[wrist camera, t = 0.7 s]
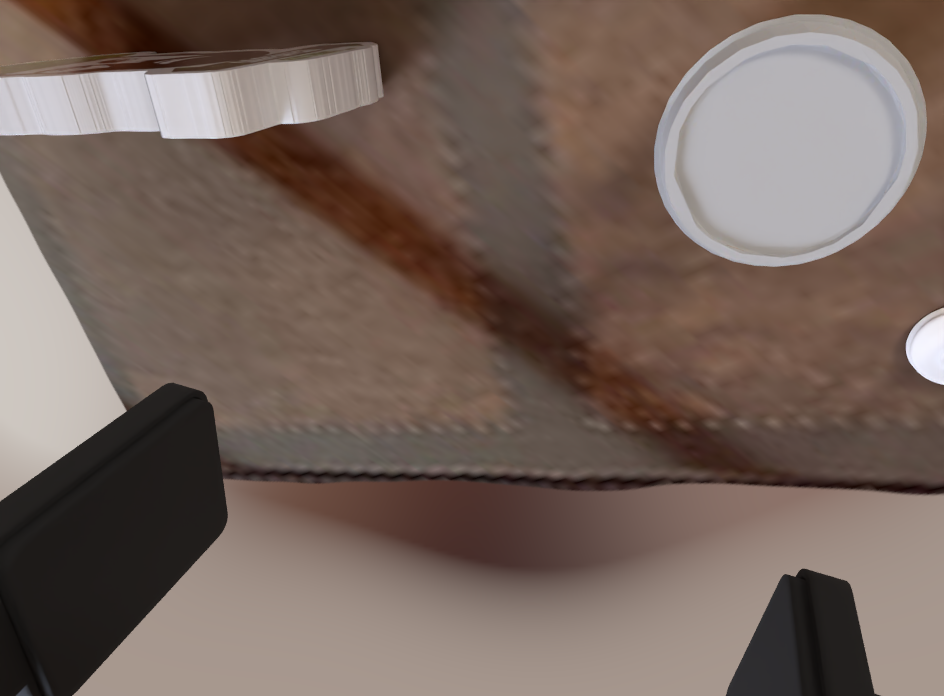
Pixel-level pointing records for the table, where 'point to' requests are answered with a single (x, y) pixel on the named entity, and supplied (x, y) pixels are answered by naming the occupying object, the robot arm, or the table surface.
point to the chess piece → (928, 346)
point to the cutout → (188, 91)
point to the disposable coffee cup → (790, 140)
